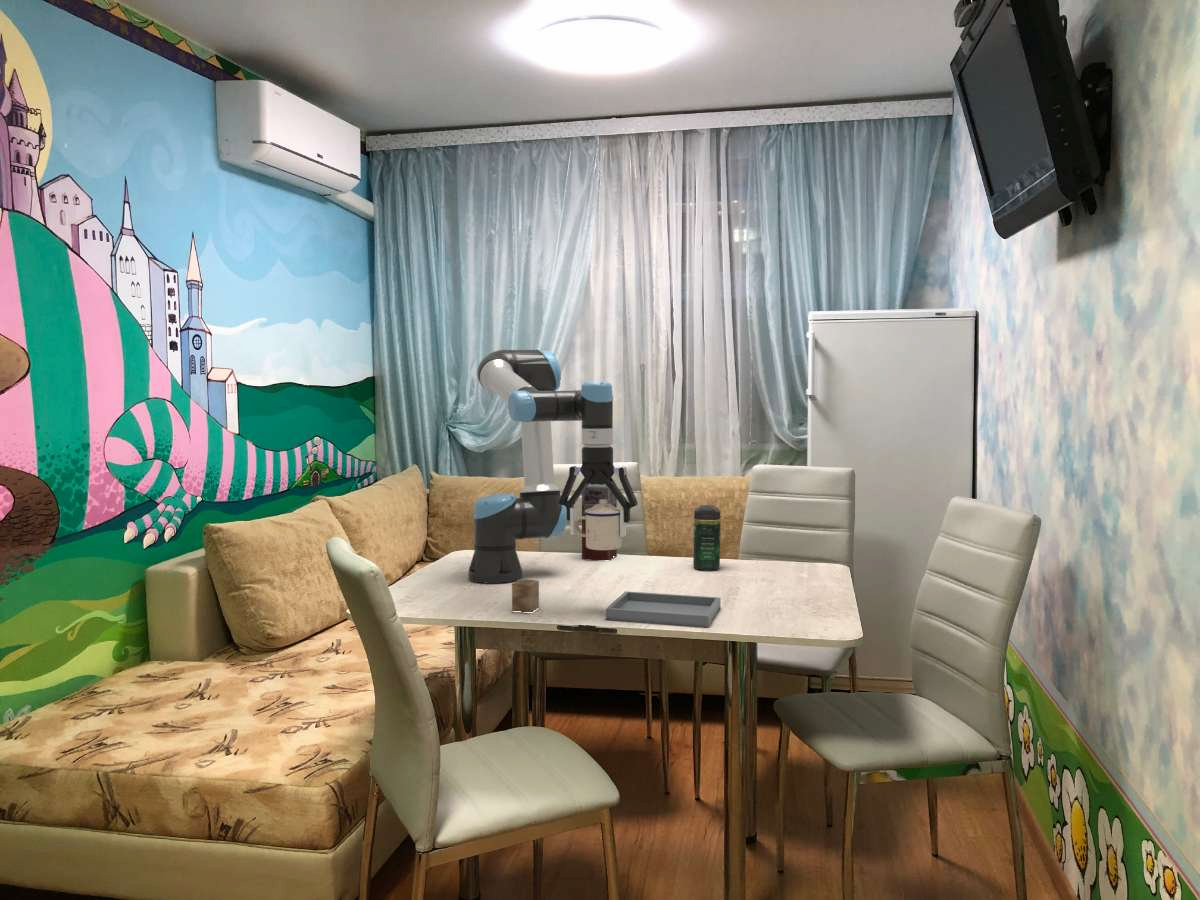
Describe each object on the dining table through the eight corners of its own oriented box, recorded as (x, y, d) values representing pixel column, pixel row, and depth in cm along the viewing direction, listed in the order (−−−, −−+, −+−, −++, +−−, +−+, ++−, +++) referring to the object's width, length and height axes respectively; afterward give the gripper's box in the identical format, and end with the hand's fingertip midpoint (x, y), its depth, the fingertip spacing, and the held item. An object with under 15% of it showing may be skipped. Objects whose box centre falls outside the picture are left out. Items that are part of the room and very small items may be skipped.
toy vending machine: (579, 560, 275) (579, 470, 273) (590, 554, 286) (589, 467, 284) (607, 562, 272) (607, 471, 270) (616, 555, 283) (616, 468, 281)
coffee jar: (720, 571, 259) (720, 508, 258) (693, 570, 260) (693, 507, 259) (720, 564, 269) (720, 503, 267) (693, 564, 270) (694, 503, 268)
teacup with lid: (627, 545, 218) (627, 498, 218) (615, 551, 210) (614, 502, 209) (582, 542, 223) (581, 496, 222) (568, 548, 214) (567, 500, 213)
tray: (605, 619, 207) (605, 608, 207) (625, 601, 224) (625, 591, 224) (708, 627, 200) (708, 616, 200) (720, 608, 217) (720, 597, 217)
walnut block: (512, 612, 214) (511, 583, 213) (519, 607, 219) (519, 579, 218) (531, 613, 213) (531, 585, 212) (538, 608, 217) (538, 580, 217)
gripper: (544, 446, 215) (546, 535, 216) (641, 447, 208) (642, 539, 209) (555, 444, 222) (556, 530, 223) (649, 445, 215) (650, 534, 216)
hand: (598, 535), depth 216 cm, fingers closed on teacup with lid, 12 cm apart
